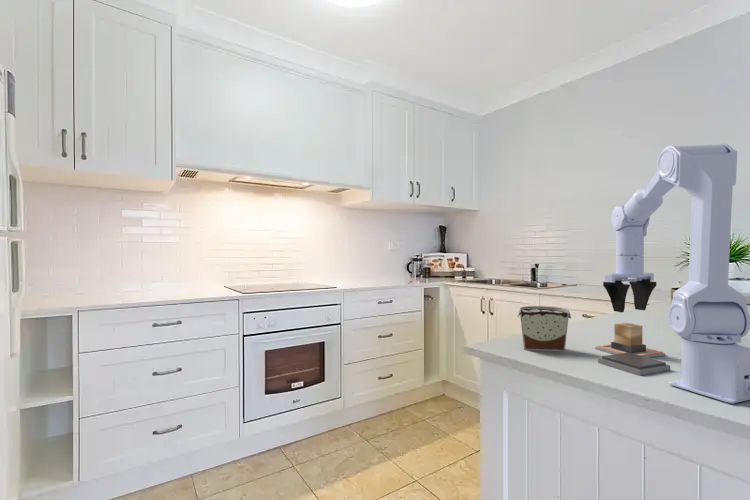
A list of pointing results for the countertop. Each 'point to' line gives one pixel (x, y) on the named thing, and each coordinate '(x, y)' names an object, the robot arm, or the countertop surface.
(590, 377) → the countertop surface
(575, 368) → the countertop surface
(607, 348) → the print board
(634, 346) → the stamp
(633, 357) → the pad
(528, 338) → the food container
